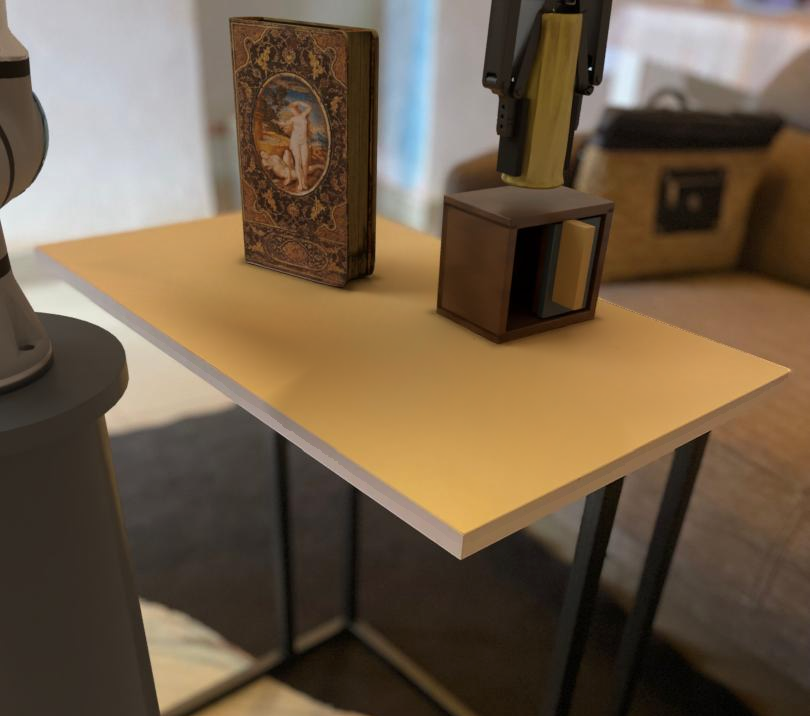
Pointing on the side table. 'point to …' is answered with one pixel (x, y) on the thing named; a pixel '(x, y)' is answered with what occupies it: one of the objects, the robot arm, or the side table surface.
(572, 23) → the vase
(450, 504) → the side table surface
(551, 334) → the side table surface
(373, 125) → the book
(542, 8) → the robot arm
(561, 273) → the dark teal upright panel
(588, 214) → the small wooden bookshelf
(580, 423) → the side table surface
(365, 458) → the side table surface
